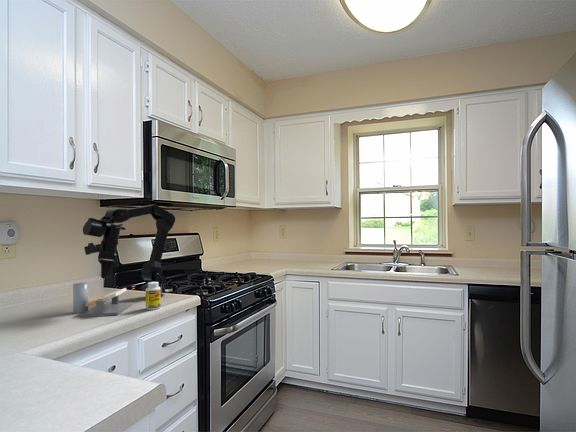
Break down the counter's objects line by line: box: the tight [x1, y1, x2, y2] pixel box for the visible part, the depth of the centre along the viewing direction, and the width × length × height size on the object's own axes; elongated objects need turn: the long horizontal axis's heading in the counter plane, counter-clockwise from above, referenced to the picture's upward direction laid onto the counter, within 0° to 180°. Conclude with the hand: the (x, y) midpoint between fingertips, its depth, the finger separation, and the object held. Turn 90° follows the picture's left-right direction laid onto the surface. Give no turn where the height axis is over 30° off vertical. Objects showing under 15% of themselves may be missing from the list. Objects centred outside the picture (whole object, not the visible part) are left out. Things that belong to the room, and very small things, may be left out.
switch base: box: [79, 295, 134, 318], centre depth 132 cm, size 16×13×6 cm
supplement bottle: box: [145, 282, 162, 311], centre depth 134 cm, size 6×6×10 cm
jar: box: [72, 281, 89, 315], centre depth 130 cm, size 5×5×11 cm
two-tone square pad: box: [86, 287, 127, 308], centre depth 132 cm, size 12×11×2 cm
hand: (102, 277), depth 134 cm, fingers open, 9 cm apart
